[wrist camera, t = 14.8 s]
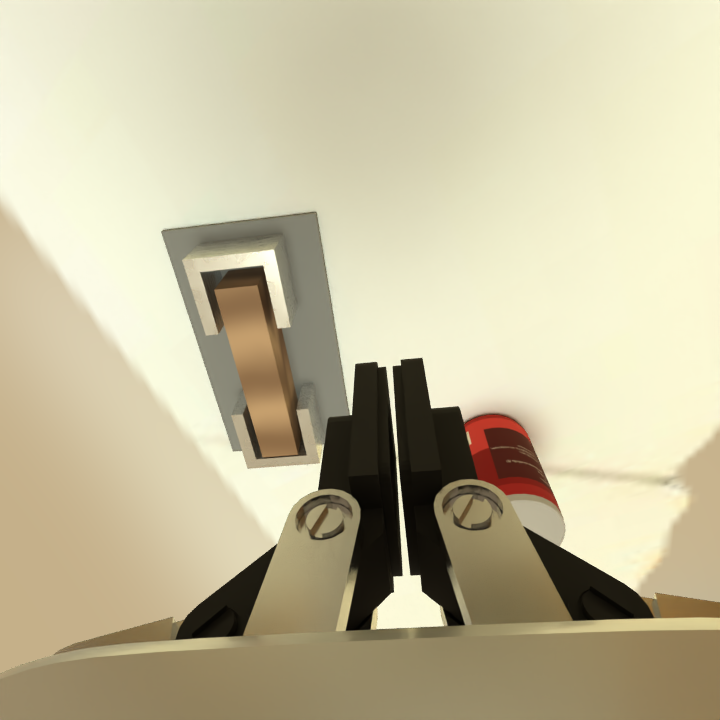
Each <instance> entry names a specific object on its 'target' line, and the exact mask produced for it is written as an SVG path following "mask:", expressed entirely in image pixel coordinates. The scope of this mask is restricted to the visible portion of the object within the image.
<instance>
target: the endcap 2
mask: <svg viewBox="0 0 720 720" xmlns="http://www.w3.org/2000/svg"><path fill="white" fill-rule="evenodd" d="M296 410H297V415H298V419H299V424H300V428H301V432H302V437H301V442H300V447H299V452H298V455H287V456H274V457H262V453H261V450H260V447H259V443H258V440H257V436H256V433H255V429H254V426H253V422H252V419H251V415H250V412H249V409H248V405H247V402H246V398H245V395H244V391H243V389H242V390H241V393H240V395H239V398H238V400H237V402H236V405H235V407H234V409H233V412H232V414H231V417H232V420H233V423H234V426H235V430H236V433H237V436H238V439H239V442H240V445H241V449H242V452H243V455H244V458H245V461H246V464H247V468H248V469H249V468H262V467H276V466H289V465H303V464H316V463H320V458H321V451H322V444H323V437H324V433H323V428H322V423H321V418H320V413H319V408H318V403H317V398H316V393H315V388H314V383H303V384H302V388H301V392H300V396H299V401H298V405H297V409H296Z"/></svg>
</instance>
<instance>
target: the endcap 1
mask: <svg viewBox="0 0 720 720" xmlns="http://www.w3.org/2000/svg"><path fill="white" fill-rule="evenodd" d="M182 261H183V264H184V268H185V271H186V274H187V277H188V280H189V283H190V287H191V290H192V293H193V296H194V299H195V303H196V306H197V309H198V312H199V315H200V318H201V322H202V325H203V328H204V331H205V334H206V336H207V335H217V334H219V333H220V331H221V330H222V328H223V326H224V322H223V319H222V315H221V312H220V309H219V305H218V302H217V298H216V295H215V291H214V289H215V288H216V287H217V285H218V284H219V283H220V281H221V280H222V275H221V271H220V270H224V269H233V268H242V267H252V266H261V265H263V267H264V271H265V276H266V280H267V284H268V289H269V293H270V297H271V302H272V306H273V310H274V315H275V319H276V323H277V328H288V327H291V325H292V322H293V319H294V316H295V313H296V310H297V307H298V304H297V299H296V294H295V289H294V284H293V279H292V274H291V269H290V264H289V259H288V254H287V249H286V244H285V239H284V234H275V235H266V236H258V237H249V238H240V239H232V240H223V241H214V242H206V243H199V244H198V245H197V246H196V247H195V248H194V249H193V250H192V251H191V252H190V253H189V254H188V255H187V256H186V257H185V258H184V259H183V260H182Z"/></svg>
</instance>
